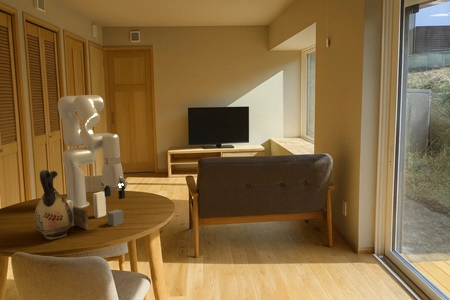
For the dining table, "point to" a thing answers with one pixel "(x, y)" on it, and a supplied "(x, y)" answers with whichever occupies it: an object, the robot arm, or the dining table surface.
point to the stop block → (115, 217)
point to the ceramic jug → (52, 209)
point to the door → (80, 217)
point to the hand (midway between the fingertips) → (114, 197)
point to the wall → (98, 205)
